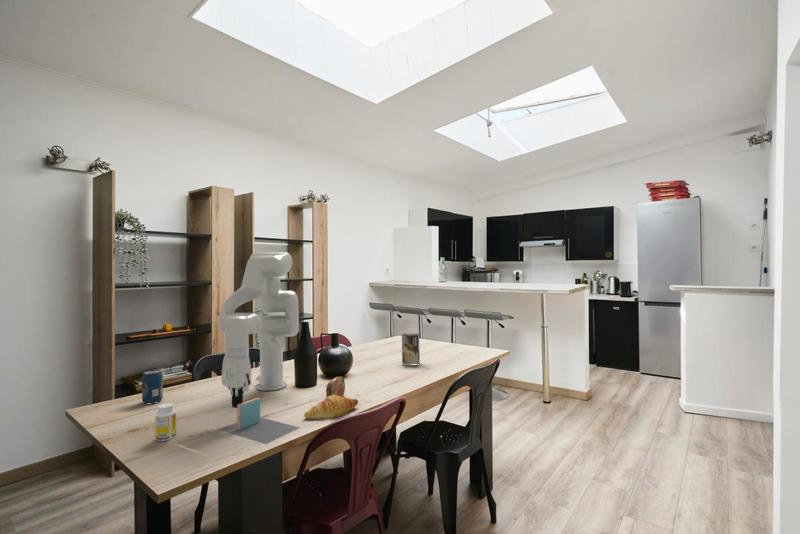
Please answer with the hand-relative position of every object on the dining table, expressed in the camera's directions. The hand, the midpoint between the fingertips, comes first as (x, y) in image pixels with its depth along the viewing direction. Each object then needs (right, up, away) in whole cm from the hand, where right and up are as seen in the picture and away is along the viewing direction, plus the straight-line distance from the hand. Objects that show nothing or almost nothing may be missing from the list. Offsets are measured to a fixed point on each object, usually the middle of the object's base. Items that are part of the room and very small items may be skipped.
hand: (237, 406), depth 137 cm
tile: (+5, -5, -3) cm, 8 cm away
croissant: (+30, -6, +9) cm, 32 cm away
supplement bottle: (-17, -6, -12) cm, 22 cm away
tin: (+30, -6, +23) cm, 38 cm away
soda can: (-43, -6, +23) cm, 49 cm away
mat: (+9, -6, -5) cm, 12 cm away
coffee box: (+61, -5, +81) cm, 102 cm away
